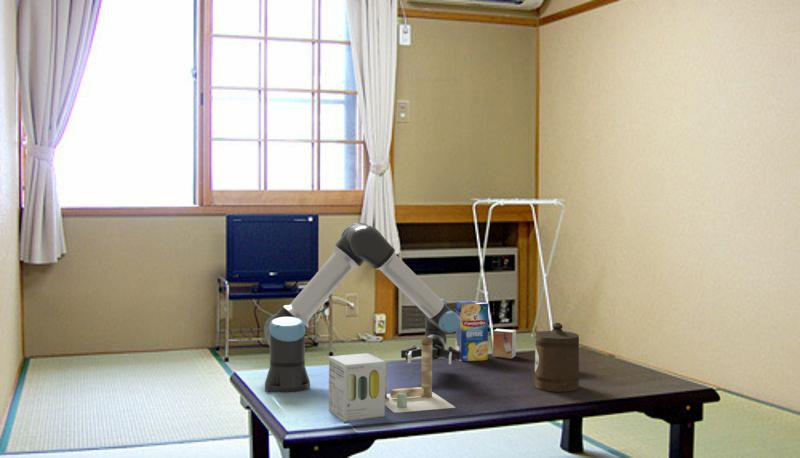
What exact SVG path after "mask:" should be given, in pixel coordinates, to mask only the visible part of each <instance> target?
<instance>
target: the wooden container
mask: <svg viewBox="0 0 800 458" xmlns="http://www.w3.org/2000/svg"><path fill="white" fill-rule="evenodd" d="M579 335H580V334H577V333H574V332H572V331H571V332H570V331H566V330H565V331H564V330H563V324H561V322H554V323H553V324H552V329H551V330H541V331H538V332H536V333H535V351H534V354H535V355H534V387H535V388H536V389H538V390H541V391H547V392H555V393H565V392H567V393H569V392H573V391H576V390H578V389H579V388H580V386H579V385H580V384H579V383H580V381H579V379H580V351H579V348H580V336H579Z"/></svg>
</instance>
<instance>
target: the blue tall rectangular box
mask: <svg viewBox="0 0 800 458" xmlns="http://www.w3.org/2000/svg"><path fill="white" fill-rule="evenodd" d="M455 313H456V314H457V315H458V316H459V318H460V326H459V328H458V330H456V331H455V348H454V349H455V350H457V351H459V352H461V360H459V361H460V362H470V361H474V362H475V361H488V353H489V352H488V351H489V349H488V348H489V345H488V344H489V343H488V342H489V302H485V301H483V300H474V301H473V300H472V301H470V300H469V301H467V300H466V301H455Z"/></svg>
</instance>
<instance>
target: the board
mask: <svg viewBox="0 0 800 458" xmlns="http://www.w3.org/2000/svg"><path fill="white" fill-rule="evenodd" d="M387 397H388V398H389V401H387V402H385V408H386V407H387V409H389V410H390V411H392V413H393V414H397V413H408V412H409V413H410V412H419V411H420V412H421V411H432V410H444V409H455V408H456V406H455V405H453V404H451V403H450V402H449V401H447V400H446V399H444V398H442V397H441V396H439V395H438V394H436V393H435V392H433V391H432V397H431V398H423V397H421V396H415V397H407V407H406V408H398V407H397V398H391V397H390V393H387Z"/></svg>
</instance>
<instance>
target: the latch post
mask: <svg viewBox="0 0 800 458" xmlns="http://www.w3.org/2000/svg"><path fill="white" fill-rule="evenodd" d="M397 407H398V408H406V407H407V394H406V393H398V394H397Z"/></svg>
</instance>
